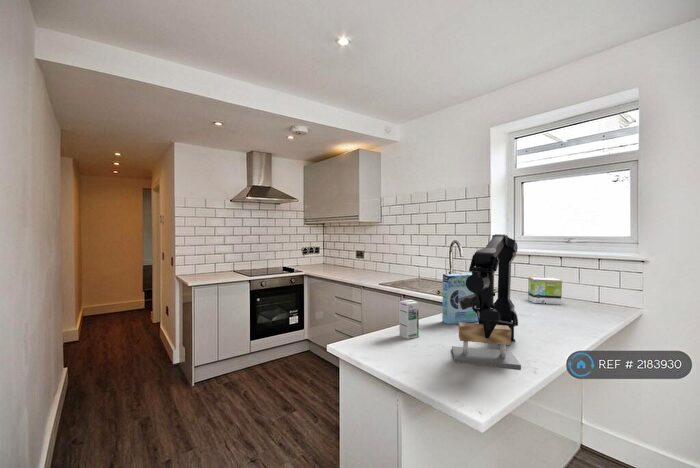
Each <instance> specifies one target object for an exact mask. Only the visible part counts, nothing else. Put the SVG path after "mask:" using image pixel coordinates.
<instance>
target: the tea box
mask: <svg viewBox="0 0 700 468" xmlns="http://www.w3.org/2000/svg"><path fill="white" fill-rule="evenodd" d="M562 282H563V281H562V280H561V279H558V278H555V277H543V276H541V277H539V276H529V277H528V281H527V283H528V289H527V301H530V302H531V303H533V304H545V303H546V304H545V305H547V304H548V305H559V304H560V305H562V288H563V287H562V285H563V283H562Z"/></svg>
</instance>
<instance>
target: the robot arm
mask: <svg viewBox="0 0 700 468" xmlns="http://www.w3.org/2000/svg"><path fill="white" fill-rule="evenodd" d="M491 236H492V237H491V239H490V241H488V243H487V244H486V245H485V247H484V248H481V249H478V250H476V251H475V252H474V254H472V257H471V261H470V265H469V267H468V268H469V269H468V273H472V275H471V276H469V277H468V278H467V280H466V287H467V288H468V290H469V291H471V292H473V293H474V294H472V295H468V296H464V297H461V298H459V299H458V301H459V303H460V306H461V308H462V310H465V309H467V308H470V307H473V308H472V309H473V310H474V311H475V313H476V314H477V318H478V321H477V323H478V324H483V329H484V335H485V338H489V337H490V335H491V333H492V331H493V330H494V328H495V326H496V325H506V326H508V327H509V328H510V329H511V342H516V339H515V327H518V326H519V318H518V314H517V312H516V310H515V304H514V303H513V302H512V300H511V281H512V280H511V279H512V278H511V276H512V262H513V261H514V260H515V258H516V257H517V252H518V249H519V248H518V247H519V246H518V243H517V242H516V240H515V239H513V238H510V237H508V236H509V235H508V234H507V235H506V234H504V233H502V234H499V233H498V234H497V233H496V234H493V235H491ZM497 271H498V272H497ZM495 272H497V273H498V274H497V277H498V278H497V299H496V300H495V299H494V298H495V297H496V292H495V274H496V273H495Z"/></svg>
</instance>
